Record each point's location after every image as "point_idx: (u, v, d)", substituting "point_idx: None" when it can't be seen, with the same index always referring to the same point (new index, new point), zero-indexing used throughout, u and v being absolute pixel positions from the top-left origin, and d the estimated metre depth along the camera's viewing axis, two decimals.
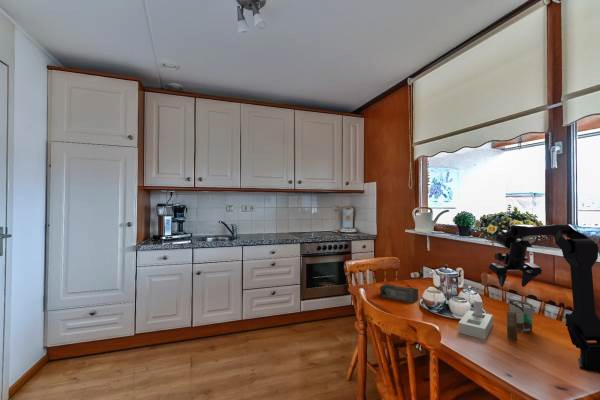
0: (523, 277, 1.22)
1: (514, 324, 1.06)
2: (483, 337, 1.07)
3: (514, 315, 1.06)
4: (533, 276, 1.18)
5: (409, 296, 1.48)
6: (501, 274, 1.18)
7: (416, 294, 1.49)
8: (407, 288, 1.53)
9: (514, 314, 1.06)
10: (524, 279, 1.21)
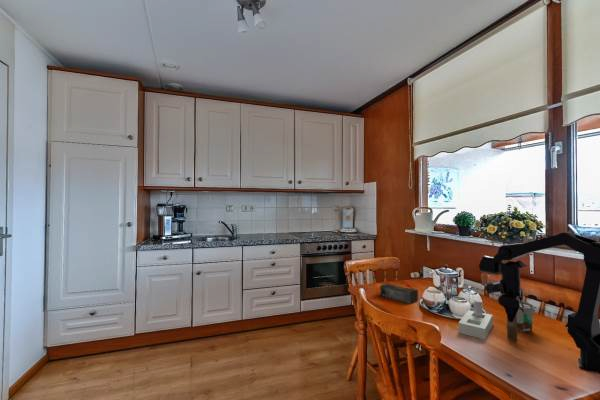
0: None
1: (514, 324, 1.06)
2: (483, 337, 1.07)
3: None
4: None
5: (406, 296, 1.48)
6: (519, 305, 1.00)
7: (414, 295, 1.48)
8: (407, 288, 1.52)
9: None
10: None
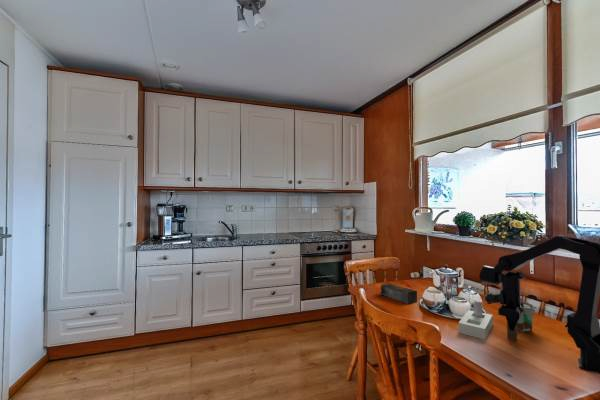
0: None
1: None
2: (483, 337, 1.07)
3: None
4: (521, 311, 1.08)
5: (404, 297, 1.47)
6: (519, 317, 1.00)
7: (412, 296, 1.47)
8: (406, 289, 1.52)
9: None
10: None
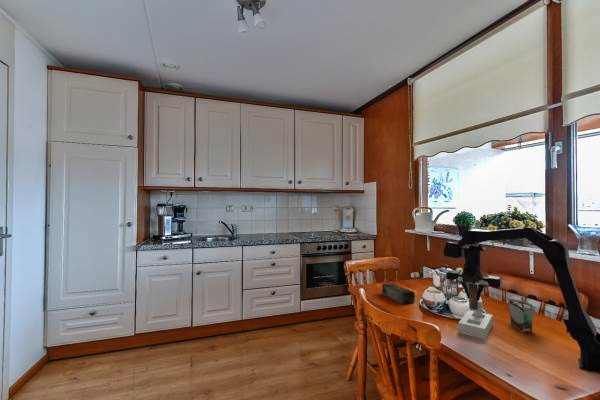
0: (467, 289, 1.14)
1: None
2: (483, 337, 1.07)
3: None
4: None
5: (399, 297, 1.47)
6: None
7: (408, 296, 1.46)
8: (404, 289, 1.51)
9: None
10: (468, 289, 1.15)
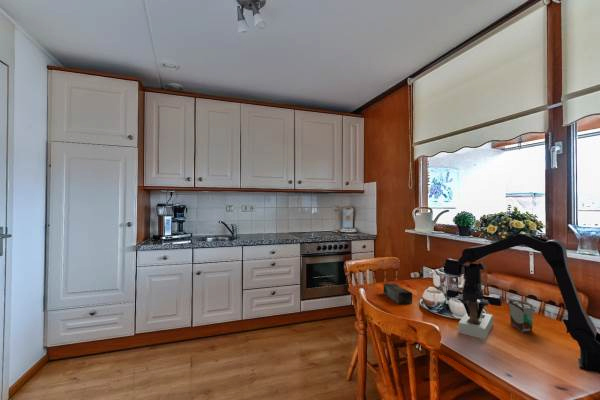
0: (468, 306, 1.14)
1: None
2: (483, 337, 1.07)
3: None
4: None
5: (396, 297, 1.48)
6: None
7: (404, 297, 1.46)
8: (402, 289, 1.51)
9: None
10: (468, 307, 1.14)
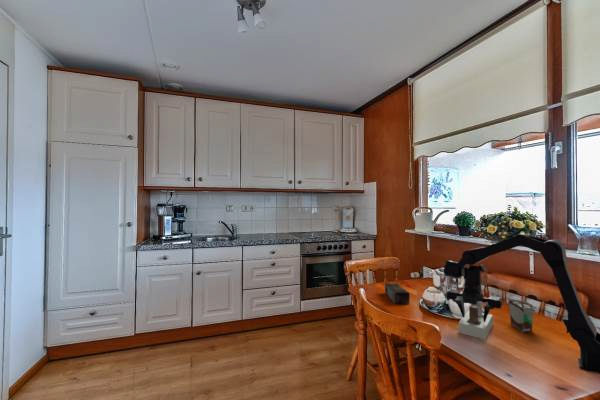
0: (462, 307, 1.15)
1: None
2: (483, 337, 1.07)
3: None
4: None
5: (393, 296, 1.48)
6: None
7: (401, 297, 1.46)
8: (400, 289, 1.51)
9: None
10: (463, 308, 1.16)
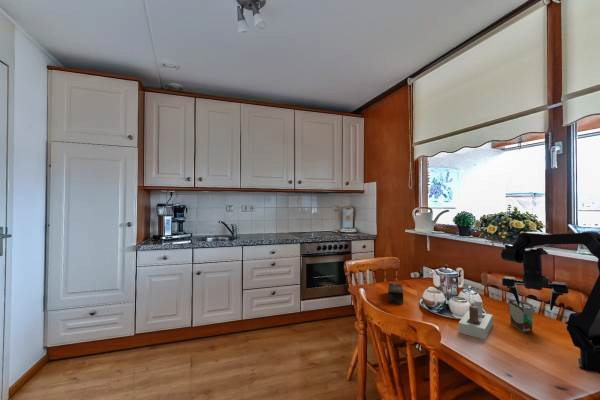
0: (517, 294, 1.08)
1: None
2: (483, 337, 1.07)
3: None
4: None
5: None
6: None
7: (394, 296, 1.46)
8: (396, 289, 1.51)
9: None
10: (518, 295, 1.08)
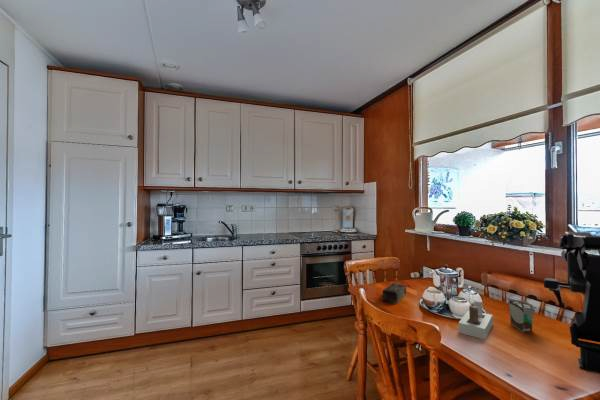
0: None
1: None
2: (483, 337, 1.07)
3: None
4: None
5: None
6: None
7: (388, 295, 1.48)
8: (393, 289, 1.51)
9: None
10: (561, 298, 1.03)
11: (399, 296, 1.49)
